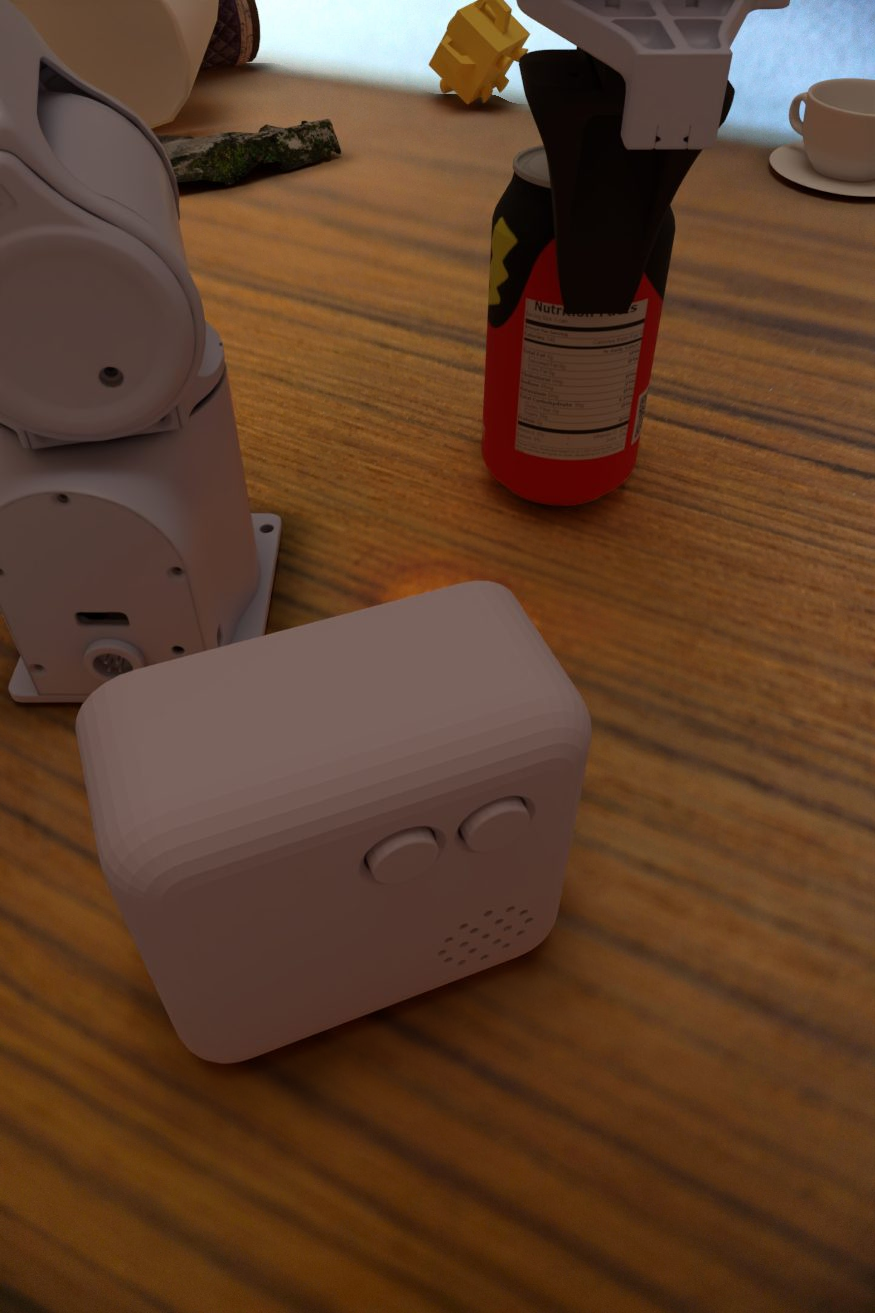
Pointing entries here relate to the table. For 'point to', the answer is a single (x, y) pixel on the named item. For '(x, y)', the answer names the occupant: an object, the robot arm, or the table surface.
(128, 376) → the robot arm
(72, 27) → the cup
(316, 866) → the electronic device
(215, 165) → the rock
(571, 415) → the beverage can
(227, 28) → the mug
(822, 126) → the teacup
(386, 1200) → the table surface
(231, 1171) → the table surface
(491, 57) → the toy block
